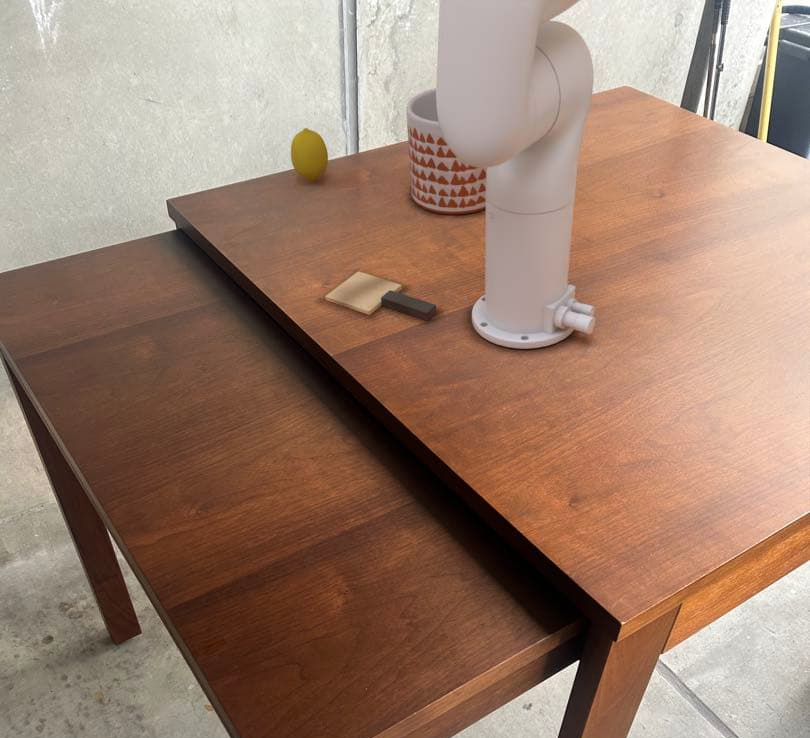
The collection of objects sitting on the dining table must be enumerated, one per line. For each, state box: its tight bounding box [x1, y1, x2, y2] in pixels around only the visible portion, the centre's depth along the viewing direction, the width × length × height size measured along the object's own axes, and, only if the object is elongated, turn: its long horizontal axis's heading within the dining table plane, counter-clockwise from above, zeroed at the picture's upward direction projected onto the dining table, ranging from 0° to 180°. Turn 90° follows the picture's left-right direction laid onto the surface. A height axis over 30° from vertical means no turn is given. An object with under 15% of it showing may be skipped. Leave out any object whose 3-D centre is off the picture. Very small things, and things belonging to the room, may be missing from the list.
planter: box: [406, 87, 487, 215], centre depth 123 cm, size 14×14×13 cm
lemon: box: [290, 127, 329, 183], centre depth 130 cm, size 6×6×8 cm
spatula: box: [324, 270, 437, 322], centre depth 108 cm, size 14×7×1 cm, turn 55°
